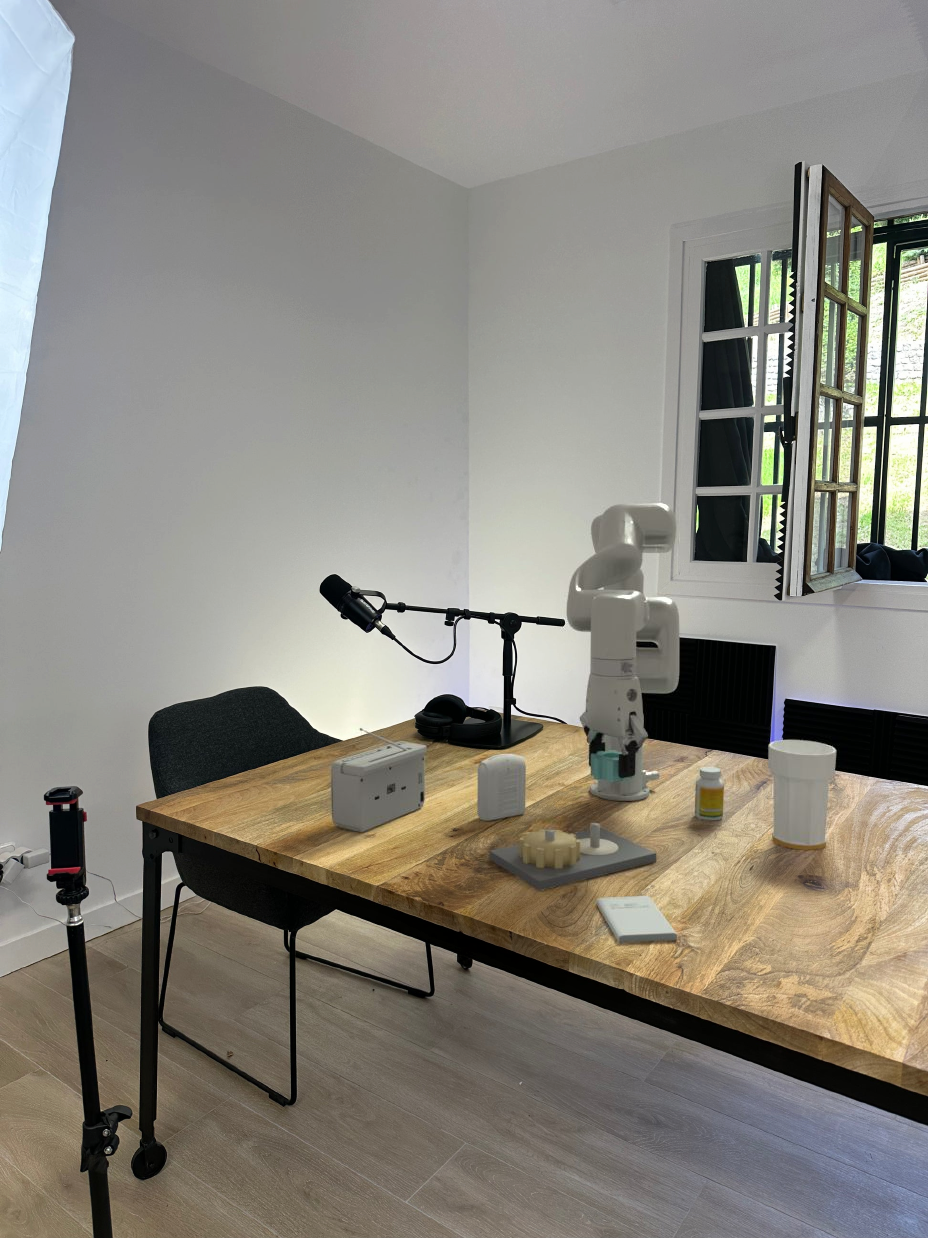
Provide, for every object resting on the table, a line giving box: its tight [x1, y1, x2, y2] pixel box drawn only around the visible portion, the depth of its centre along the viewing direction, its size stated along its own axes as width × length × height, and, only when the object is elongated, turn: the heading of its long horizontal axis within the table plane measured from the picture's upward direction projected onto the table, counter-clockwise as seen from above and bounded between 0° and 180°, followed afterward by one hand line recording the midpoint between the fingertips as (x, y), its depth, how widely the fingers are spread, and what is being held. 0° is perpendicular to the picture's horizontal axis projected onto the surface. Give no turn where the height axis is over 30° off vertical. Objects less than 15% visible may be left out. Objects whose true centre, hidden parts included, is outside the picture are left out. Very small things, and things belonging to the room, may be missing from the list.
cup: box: [768, 739, 837, 851], centre depth 153 cm, size 11×11×17 cm
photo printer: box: [476, 753, 527, 822], centre depth 168 cm, size 10×4×12 cm, turn 123°
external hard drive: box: [596, 895, 678, 944], centre depth 122 cm, size 2×8×12 cm
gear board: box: [489, 822, 657, 891], centre depth 145 cm, size 24×15×6 cm, turn 120°
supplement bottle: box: [694, 766, 725, 822], centre depth 167 cm, size 5×5×10 cm
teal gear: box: [590, 750, 633, 782], centre depth 144 cm, size 7×7×4 cm
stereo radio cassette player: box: [330, 727, 428, 834], centre depth 167 cm, size 21×8×20 cm, turn 145°
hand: (611, 770), depth 145 cm, fingers closed on teal gear, 7 cm apart
